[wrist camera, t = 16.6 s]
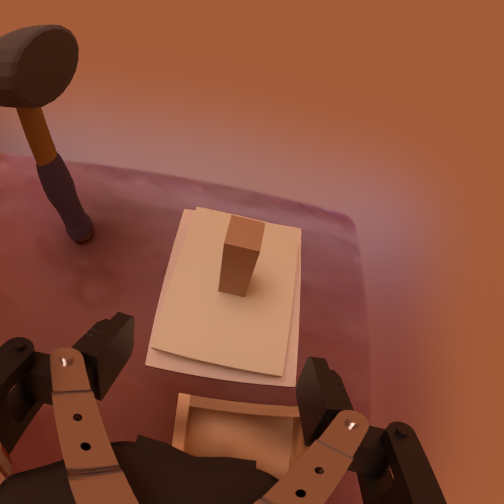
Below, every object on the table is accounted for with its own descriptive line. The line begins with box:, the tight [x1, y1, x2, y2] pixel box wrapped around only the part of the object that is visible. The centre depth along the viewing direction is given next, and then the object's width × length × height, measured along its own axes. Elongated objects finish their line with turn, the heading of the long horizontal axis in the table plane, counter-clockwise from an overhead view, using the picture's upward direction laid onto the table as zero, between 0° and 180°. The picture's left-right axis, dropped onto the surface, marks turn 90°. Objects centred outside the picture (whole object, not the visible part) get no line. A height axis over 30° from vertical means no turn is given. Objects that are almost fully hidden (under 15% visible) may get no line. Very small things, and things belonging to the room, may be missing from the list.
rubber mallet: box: [0, 25, 92, 242], centre depth 23 cm, size 12×8×30 cm, turn 67°
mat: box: [145, 209, 301, 387], centre depth 35 cm, size 22×17×1 cm
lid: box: [151, 207, 300, 378], centre depth 29 cm, size 19×14×12 cm
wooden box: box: [172, 393, 309, 480], centre depth 20 cm, size 18×13×7 cm
